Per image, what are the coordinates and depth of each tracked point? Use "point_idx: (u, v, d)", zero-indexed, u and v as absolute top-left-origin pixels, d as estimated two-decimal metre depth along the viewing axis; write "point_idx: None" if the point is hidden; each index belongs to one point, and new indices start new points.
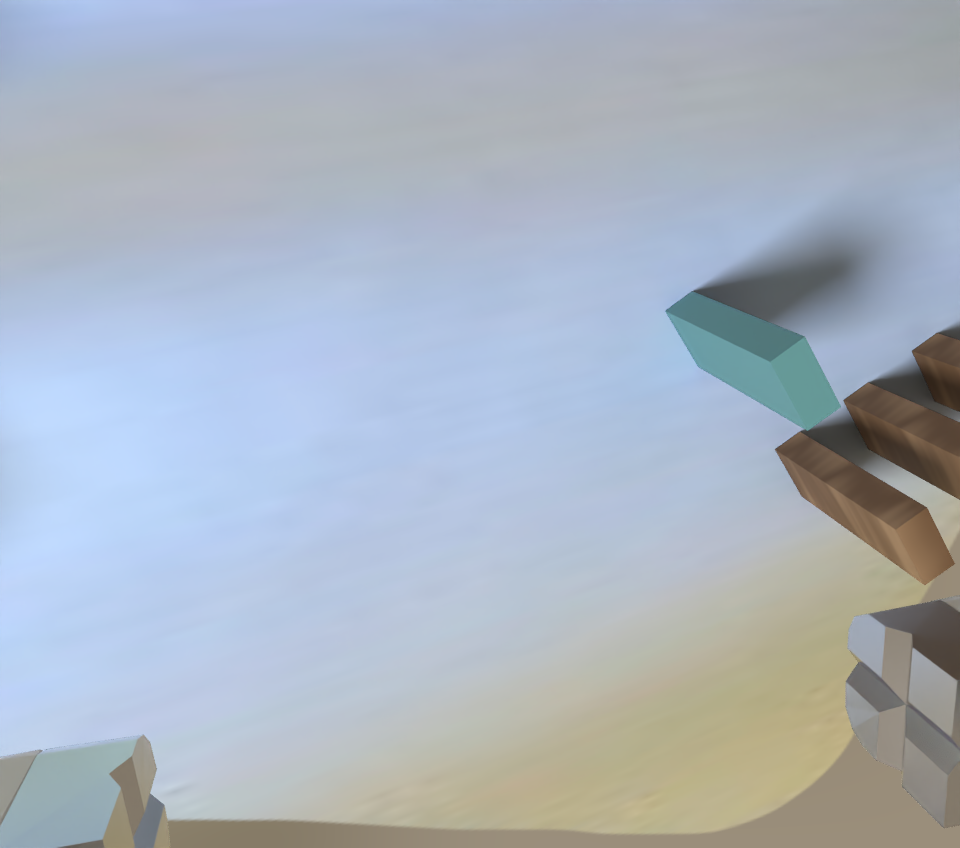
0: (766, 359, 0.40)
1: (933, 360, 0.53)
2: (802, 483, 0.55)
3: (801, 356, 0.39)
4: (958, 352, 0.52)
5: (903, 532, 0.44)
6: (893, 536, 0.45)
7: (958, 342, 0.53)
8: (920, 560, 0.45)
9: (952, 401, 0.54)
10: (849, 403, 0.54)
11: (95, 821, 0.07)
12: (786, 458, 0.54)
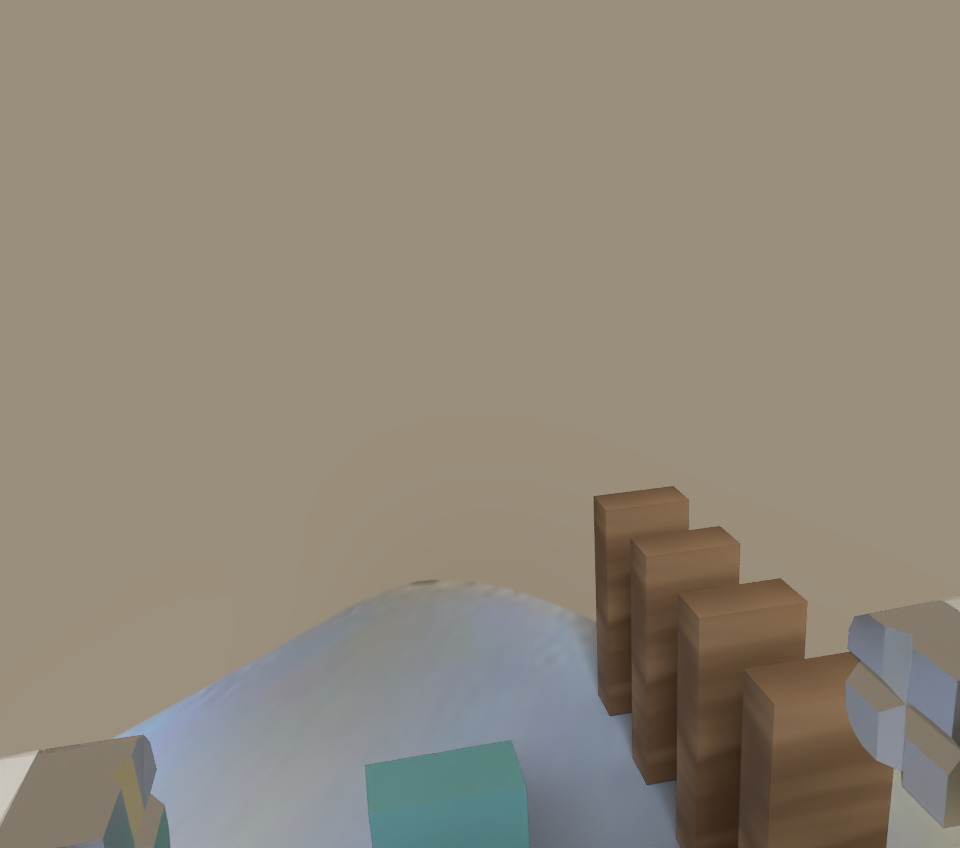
0: None
1: (651, 750, 0.39)
2: None
3: (392, 773, 0.24)
4: (638, 718, 0.40)
5: (784, 696, 0.26)
6: (801, 717, 0.26)
7: (633, 723, 0.41)
8: None
9: None
10: None
11: (95, 821, 0.07)
12: None
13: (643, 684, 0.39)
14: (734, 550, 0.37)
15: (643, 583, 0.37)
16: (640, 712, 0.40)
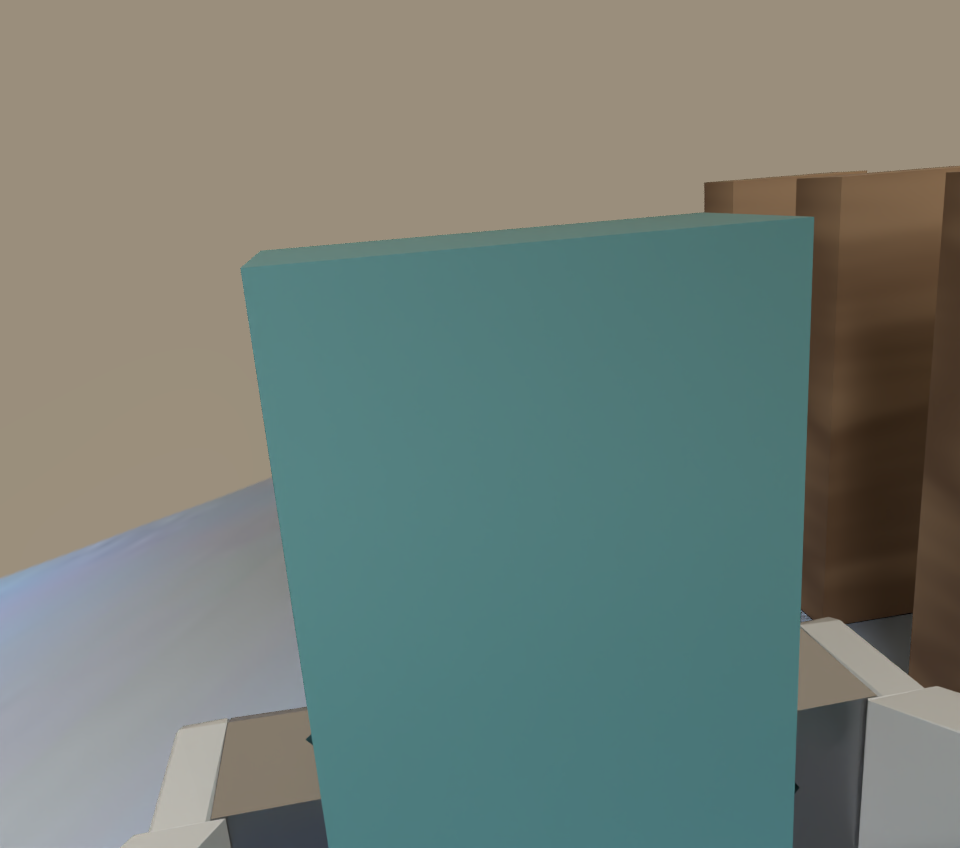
0: (249, 318, 0.06)
1: (832, 563, 0.23)
2: None
3: (344, 247, 0.07)
4: (804, 515, 0.23)
5: None
6: None
7: None
8: None
9: None
10: None
11: (308, 782, 0.07)
12: None
13: (820, 442, 0.22)
14: None
15: (831, 240, 0.21)
16: (810, 500, 0.23)
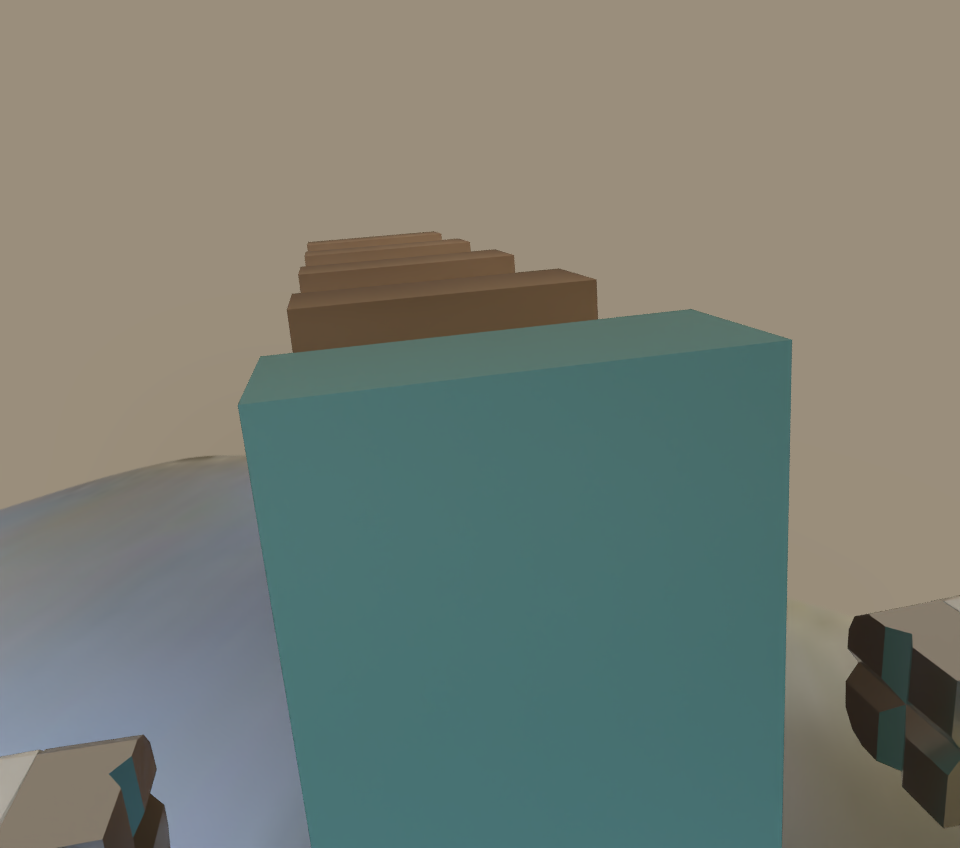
0: (245, 450, 0.06)
1: None
2: None
3: (340, 358, 0.08)
4: None
5: (322, 303, 0.12)
6: None
7: None
8: (479, 287, 0.12)
9: None
10: None
11: (95, 821, 0.07)
12: None
13: None
14: None
15: None
16: None
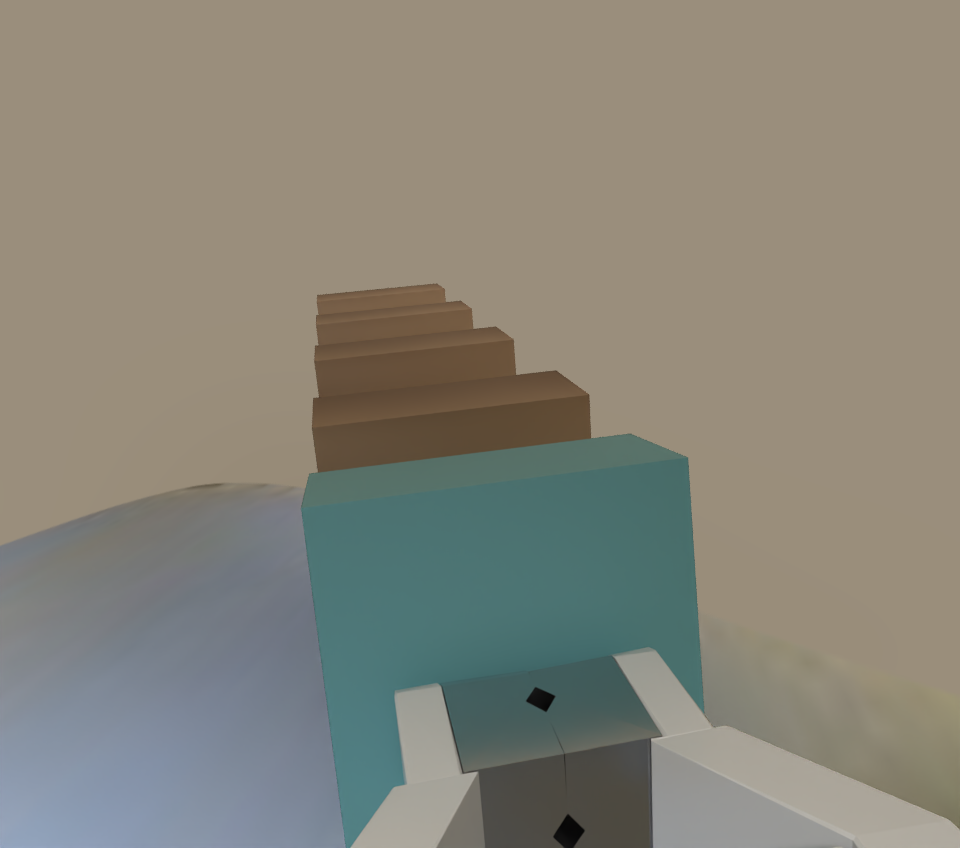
0: (305, 539, 0.09)
1: None
2: None
3: (368, 474, 0.10)
4: None
5: (343, 419, 0.13)
6: (379, 462, 0.13)
7: None
8: (484, 400, 0.14)
9: None
10: None
11: (544, 739, 0.08)
12: None
13: None
14: (463, 320, 0.24)
15: None
16: None
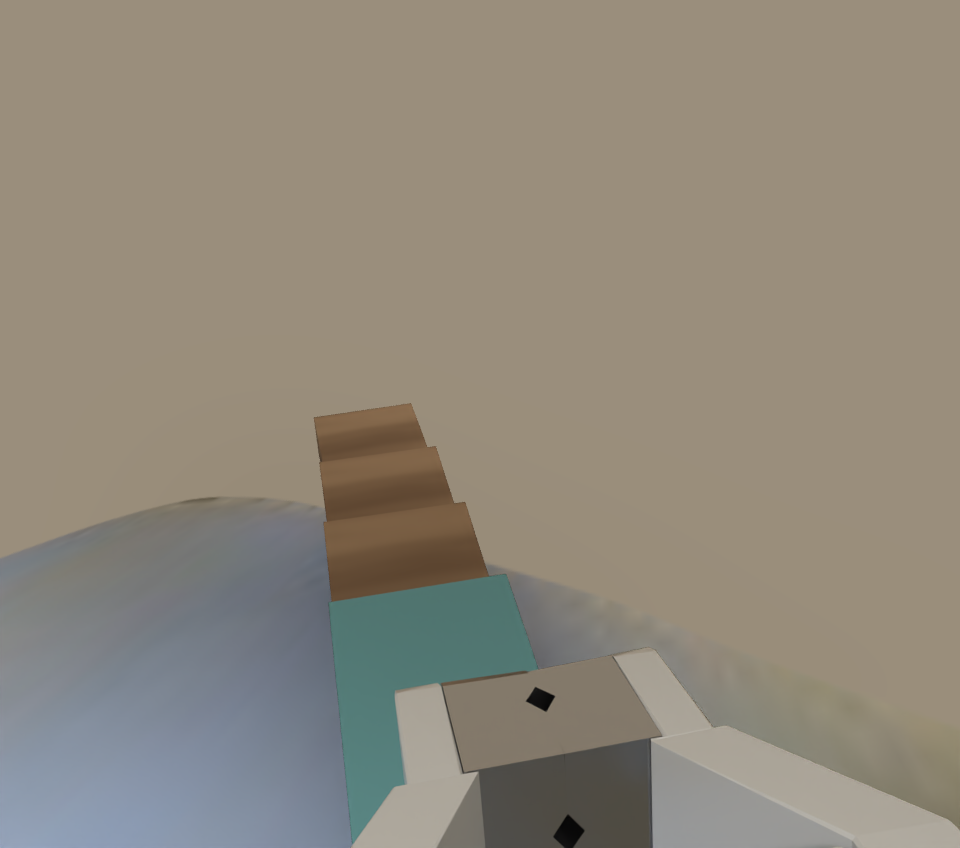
0: None
1: None
2: None
3: None
4: None
5: (339, 526, 0.26)
6: (356, 532, 0.25)
7: None
8: None
9: None
10: None
11: (544, 739, 0.08)
12: None
13: None
14: (406, 407, 0.38)
15: (318, 442, 0.36)
16: None
